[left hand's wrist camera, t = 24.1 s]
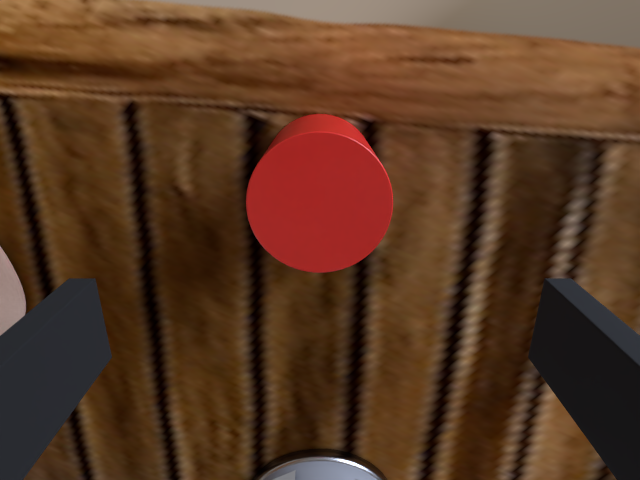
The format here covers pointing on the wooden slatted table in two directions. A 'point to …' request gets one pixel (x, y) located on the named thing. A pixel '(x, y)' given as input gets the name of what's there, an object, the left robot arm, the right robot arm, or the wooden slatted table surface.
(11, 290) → the anatomical model
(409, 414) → the wooden slatted table surface
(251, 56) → the wooden slatted table surface
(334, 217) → the cylinder
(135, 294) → the wooden slatted table surface
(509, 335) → the wooden slatted table surface
